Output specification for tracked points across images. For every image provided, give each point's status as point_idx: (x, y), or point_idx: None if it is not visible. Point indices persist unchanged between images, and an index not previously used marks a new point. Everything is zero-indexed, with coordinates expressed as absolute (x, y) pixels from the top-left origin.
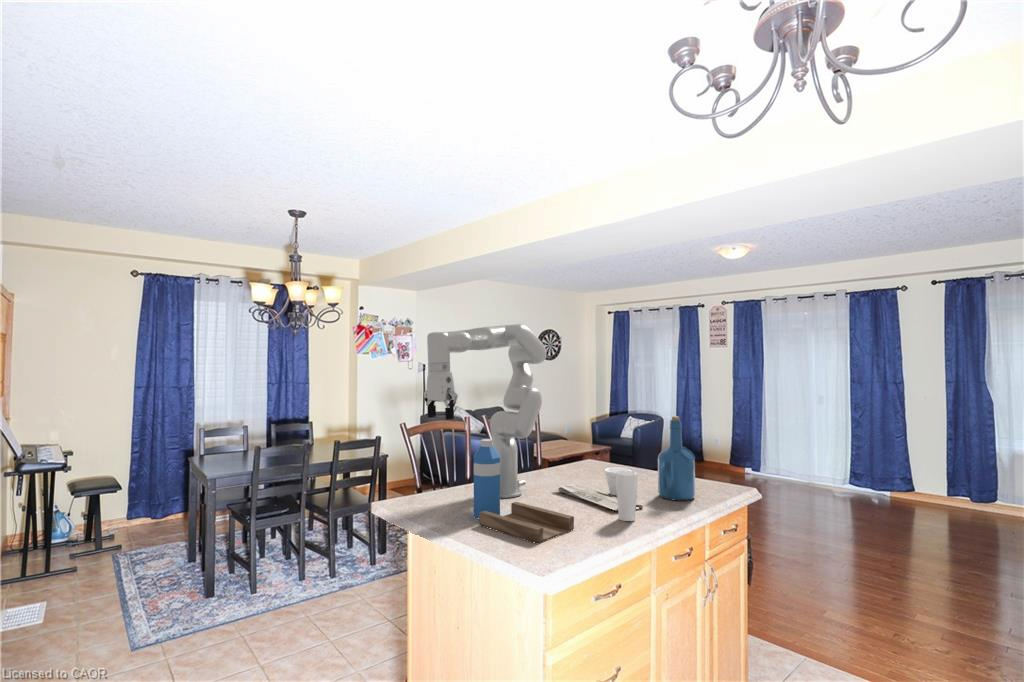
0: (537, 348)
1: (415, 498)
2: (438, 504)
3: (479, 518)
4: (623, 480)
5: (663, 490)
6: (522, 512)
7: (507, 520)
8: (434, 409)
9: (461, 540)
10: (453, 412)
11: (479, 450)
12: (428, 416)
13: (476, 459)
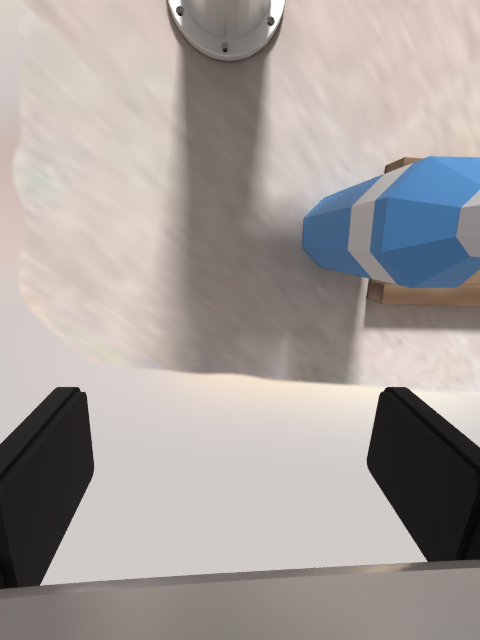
0: None
1: (54, 246)
2: (159, 244)
3: (374, 300)
4: None
5: None
6: None
7: (470, 304)
8: (45, 469)
9: (392, 381)
10: (448, 427)
11: (454, 268)
12: (83, 482)
13: (424, 287)
